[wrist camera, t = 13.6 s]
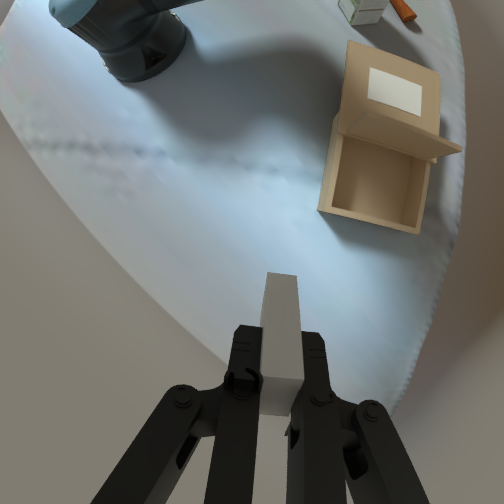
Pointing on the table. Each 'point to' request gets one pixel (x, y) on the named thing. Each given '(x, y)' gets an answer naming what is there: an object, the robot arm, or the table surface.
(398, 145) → the lid
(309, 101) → the table surface
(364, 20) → the syrup box
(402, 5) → the kendama
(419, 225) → the box
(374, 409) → the robot arm
